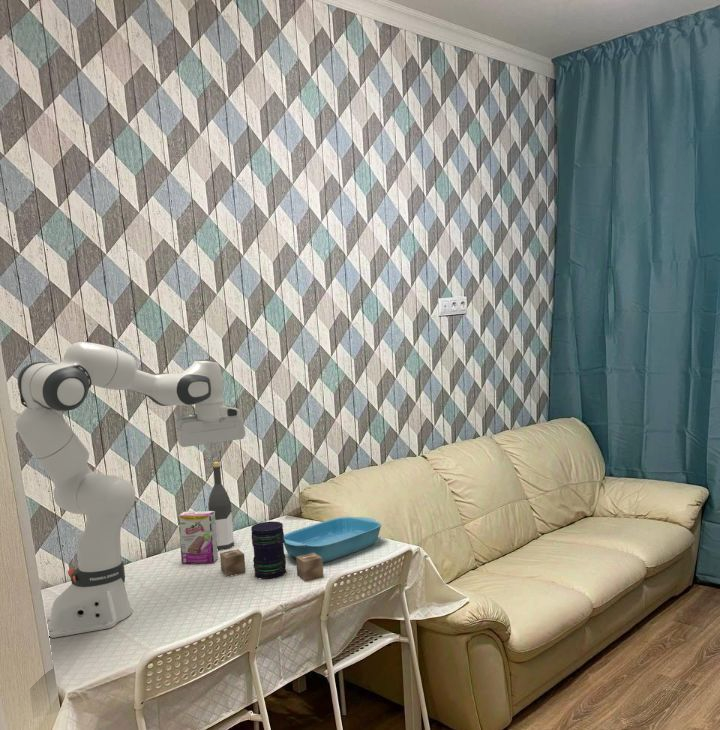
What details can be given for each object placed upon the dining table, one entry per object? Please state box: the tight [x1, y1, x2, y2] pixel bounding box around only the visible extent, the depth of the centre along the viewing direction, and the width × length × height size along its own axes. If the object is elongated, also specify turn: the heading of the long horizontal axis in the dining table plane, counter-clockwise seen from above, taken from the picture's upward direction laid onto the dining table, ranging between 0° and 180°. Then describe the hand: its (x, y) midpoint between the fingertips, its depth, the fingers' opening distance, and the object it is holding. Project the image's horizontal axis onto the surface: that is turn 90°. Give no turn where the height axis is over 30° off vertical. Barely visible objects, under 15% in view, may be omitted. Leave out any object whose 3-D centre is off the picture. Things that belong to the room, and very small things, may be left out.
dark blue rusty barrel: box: [250, 521, 287, 580], centre depth 216 cm, size 10×10×15 cm
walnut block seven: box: [219, 548, 246, 577], centre depth 220 cm, size 6×6×6 cm
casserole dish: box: [283, 516, 382, 564], centre depth 236 cm, size 37×22×7 cm, turn 136°
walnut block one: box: [295, 553, 324, 583], centre depth 211 cm, size 6×6×6 cm
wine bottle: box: [207, 461, 235, 550], centre depth 246 cm, size 8×8×30 cm
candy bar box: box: [177, 510, 219, 565], centre depth 232 cm, size 11×5×16 cm, turn 84°
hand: (213, 457), depth 214 cm, fingers closed
